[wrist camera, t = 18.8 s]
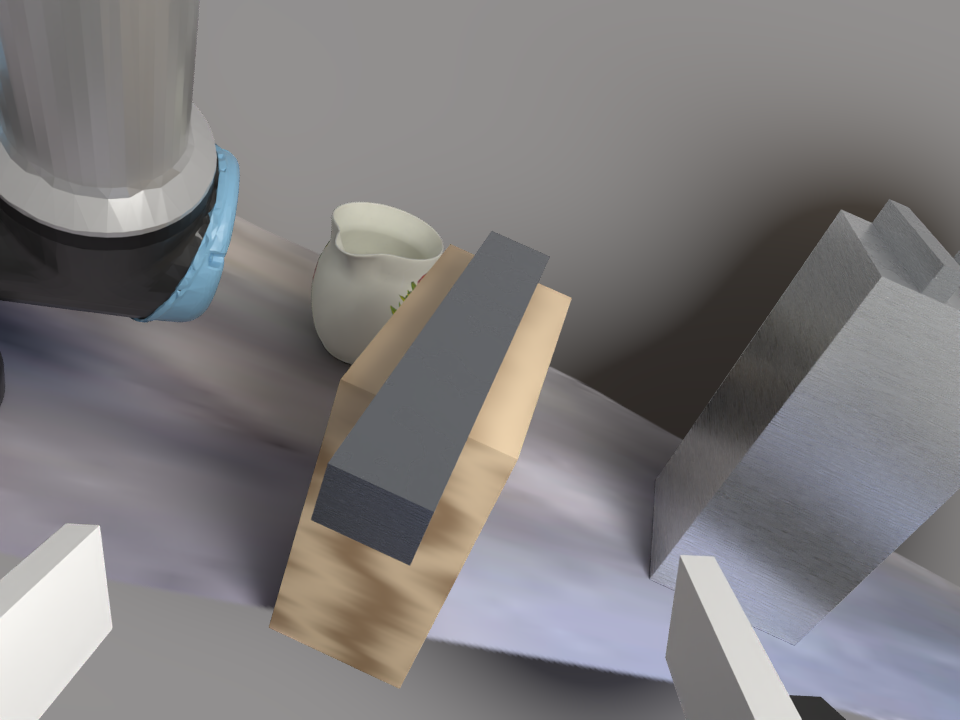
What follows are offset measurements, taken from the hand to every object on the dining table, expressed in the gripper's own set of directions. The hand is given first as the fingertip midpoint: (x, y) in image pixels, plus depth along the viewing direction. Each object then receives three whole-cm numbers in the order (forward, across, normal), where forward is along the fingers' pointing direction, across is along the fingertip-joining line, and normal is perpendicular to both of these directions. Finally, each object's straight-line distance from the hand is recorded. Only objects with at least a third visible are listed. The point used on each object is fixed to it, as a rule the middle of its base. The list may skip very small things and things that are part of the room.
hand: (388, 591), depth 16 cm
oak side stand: (+31, -5, -19) cm, 37 cm away
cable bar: (+20, 0, -1) cm, 20 cm away
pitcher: (+54, -11, -9) cm, 56 cm away
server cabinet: (+42, +24, -24) cm, 54 cm away
